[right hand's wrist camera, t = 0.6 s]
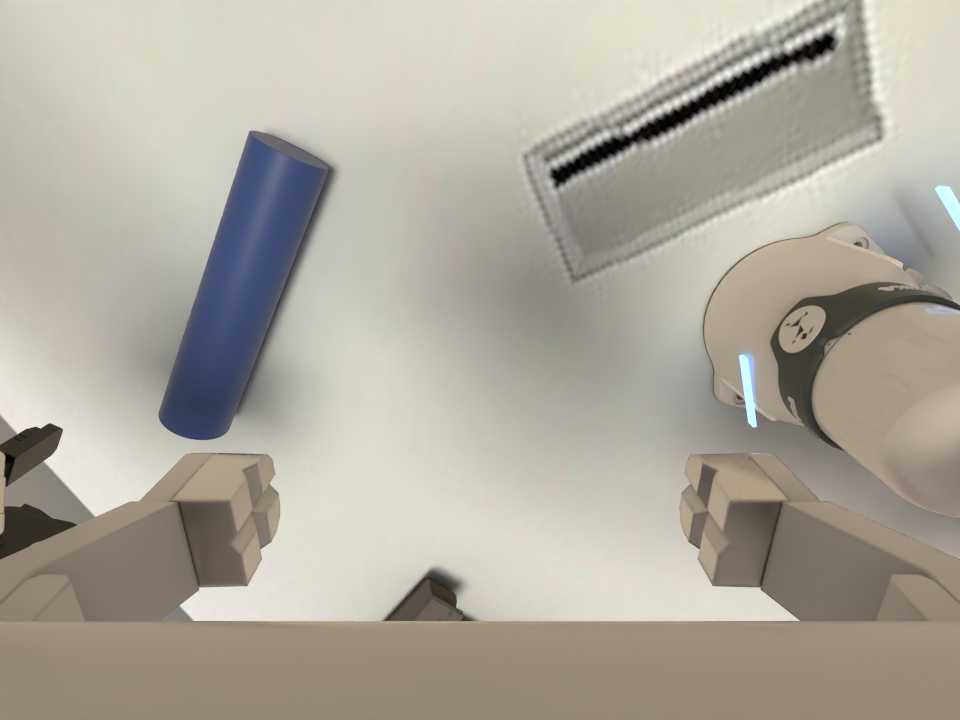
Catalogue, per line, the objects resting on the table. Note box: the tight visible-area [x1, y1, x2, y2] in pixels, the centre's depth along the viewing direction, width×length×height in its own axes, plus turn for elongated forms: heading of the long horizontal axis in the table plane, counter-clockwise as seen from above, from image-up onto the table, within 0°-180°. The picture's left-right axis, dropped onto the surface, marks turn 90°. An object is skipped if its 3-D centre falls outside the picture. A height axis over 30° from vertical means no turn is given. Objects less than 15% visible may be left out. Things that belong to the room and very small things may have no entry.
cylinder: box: [159, 131, 329, 440], centre depth 44 cm, size 26×6×6 cm, turn 153°
